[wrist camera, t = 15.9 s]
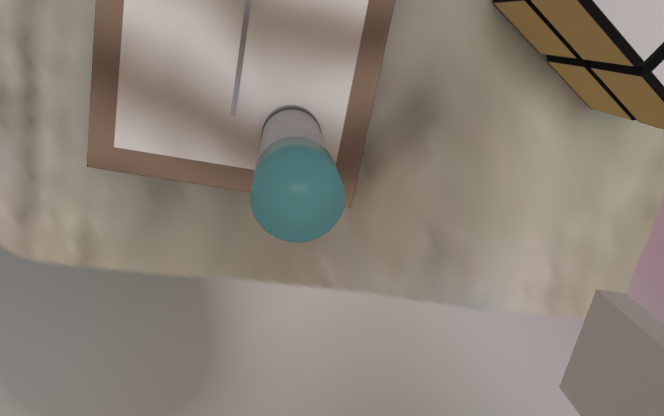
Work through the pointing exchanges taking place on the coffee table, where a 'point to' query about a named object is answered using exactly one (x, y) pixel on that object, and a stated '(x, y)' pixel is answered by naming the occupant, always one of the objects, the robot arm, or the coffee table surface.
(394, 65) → the coffee table surface
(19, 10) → the coffee table surface
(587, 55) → the puzzle cube
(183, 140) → the writing board
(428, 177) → the coffee table surface
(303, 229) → the marker
